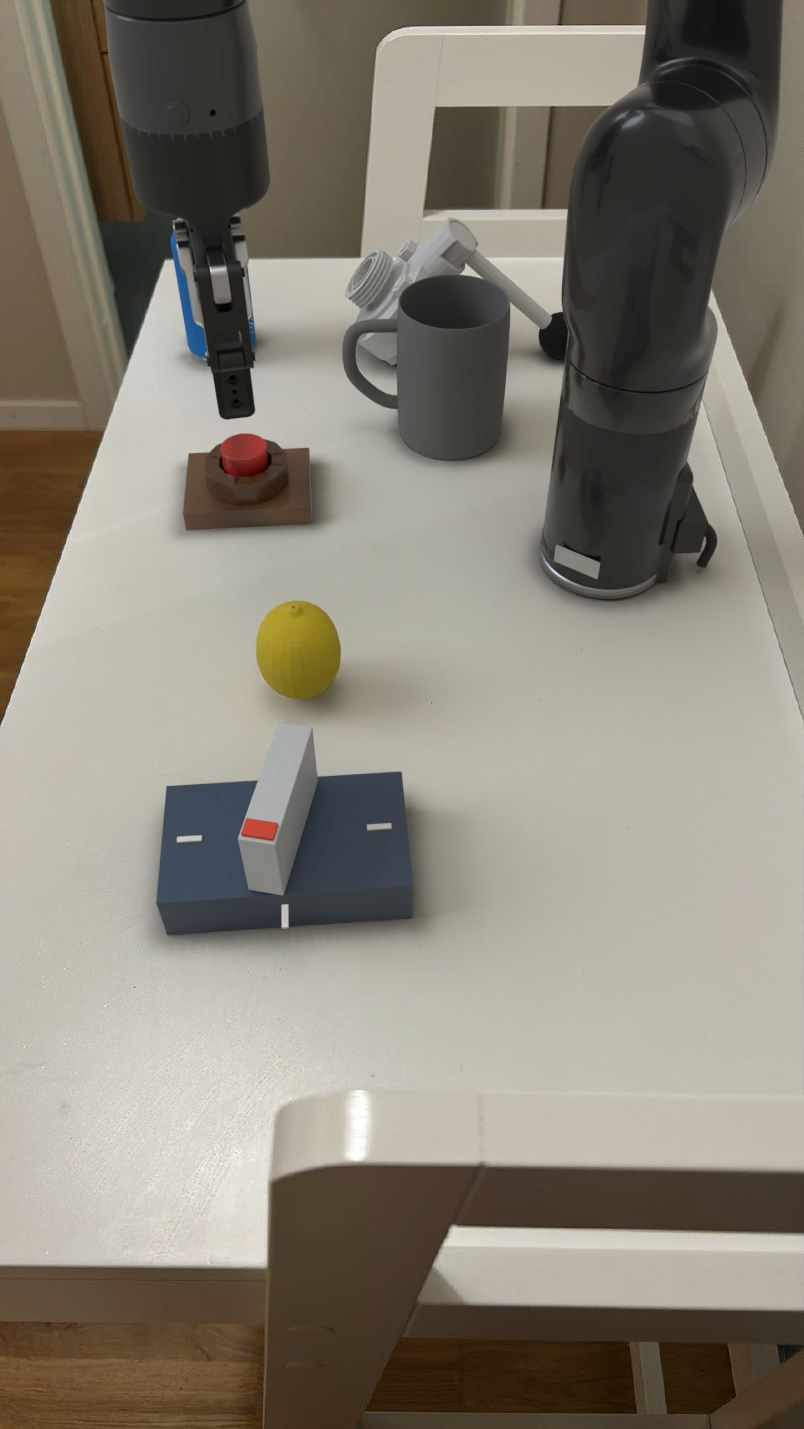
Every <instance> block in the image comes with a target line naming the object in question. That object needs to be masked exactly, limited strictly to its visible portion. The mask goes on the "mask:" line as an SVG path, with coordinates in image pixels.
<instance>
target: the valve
mask: <svg viewBox="0 0 804 1429" xmlns="http://www.w3.org/2000/svg"><path fill="white" fill-rule="evenodd" d="M478 246H479V241H478V240H477V237H476V236H475V235H474V234H473V232H472V231H471V229H470V228H469V227H468V226H467V225H466V224H465V223H464V222H462V220H460V219H457V218H455V217H447V218H446V219H444V220H443V222H442V223H440V225H439V226H438V227H437V228H436V229H435V230H434V231H433V232H432V234H431V235H429V237H428V238H427V239H426V240H425V241H424V242H423V243H420V242H419V243H416V242H414V241H413V240H412V239H411V238H408V239H406V240H405V241H404V242H403V243H402V244H401V245H400V247H399V250H398V251H397V257H396V258H395V259H394V258H393V257H391V256H390V254H388V253H387V252H386V251H384V250H383V248H376V249H373V250H372V251H371V252H369V253H368V254H367V256H365V258H363V260H362V261H361V262H360V263H359V265H358V267H356V269H355V270H354V272H353V273H352V275H351V277H350V279H349V281H348V283H347V285H346V287H345V292H344V297H345V298H346V299H348V300H349V301H350V302H351V303H353V304H355V306H357V307H358V308H359V312H358V314H357V316H356V319H355V322H354V323H356V322H359V321H363V320H371V319H397V310H398V301H399V297H400V295H401V293H402V292H403V290H404V289H405V288H407V287H408V286H409V285H411V284H412V283H414V282H416V281H419V280H421V279H424V278H428V277H432V276H438V275H452V274H453V275H462V273H463V272H464V271H465V269H466V265H467V266H468V267H469V268H470V269H471V270H473V272H475V273H476V275H478V276H480V278H482V279H485V280H488V281H490V282H492V283H494V284H496V285H498V286H499V287H500V288H502V289H503V290H504V291H505V292H506V294H507V295H508V297H509V300H510V304H512V305H513V306H514V307H515V308H516V309H517V310H518V311H520V313H522V314H523V315H524V316H525V317H526V318H527V319H529V321H531V322H532V323H533V324H534V325H536V326H537V327H538V328H539V330H538V334H537V336H538V344H539V346H540V348H541V349H542V351H543V353H544V354H545V355H547V356H549V357H551V358H552V359H557V360H562V359H565V356H566V348H567V340H568V328H567V325H566V321H565V319H564V315H563V311H558V312H554V313H552V314H550V313H549V312H547V311H546V309H544V308H543V307H542V306H541V305H539V303H537V302H536V301H535V300H534V299H533V297H531V296H529V295H528V293H526V292H525V291H524V290H523V289H522V288H520V287H519V286H518V285H517V283H515V282H513V281H512V280H511V279H510V278H509V277H508V276H507V275H506V274H505V273H503V271H501V270H500V269H499V268H498V267H496V265H495V264H494V263H492V262H491V261H490V260H489V259H487V258H486V257H485V256H484V255H483V254H482V253H481V252H480V251H479V250H477V247H478ZM357 344H358V345H360V346H361V347H362V348H364V350H366V351H368V352H369V353H370V354H372V355H373V356H374V357H376V358H377V359H378V360H380V361H385V362H386V363H388V364H389V365H391V366H395V365H397V332H393V333H365V334H362V335H361V336H360V337H359V339H358V341H357Z"/></svg>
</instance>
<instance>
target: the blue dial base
mask: <svg viewBox="0 0 804 1429" xmlns="http://www.w3.org/2000/svg"><path fill="white" fill-rule="evenodd" d="M257 782H258V779H257V780H256V779H255V780H241V781H226V782H225V781H224V782H210V783H209V782H208V783H207V782H206V783H193V784H177V785H175V784H174V785H166V787H165V797H164V808H163V809H164V810H163V820H162V821H163V822H162V830H161V831H162V833H161V844H160V854H159V867H158V875H157V876H158V877H157V889H156V900H155V904H156V907H157V909H158V913H159V916H160V918H161V921H162V924H163V927H164V929H165V933H166V934H167V936H169V935H171V936H172V935H186V934H200V933H213V932H214V933H215V932H229V931H242V930H244V931H245V930H257V929H271V928H281V929H282V930H284V929H285V930H286V929H289V928H290V927H300V926H301V927H302V926H316V925H329V924H330V925H331V924H343V923H345V924H346V923H356V922H357V923H358V922H373V921H386V920H387V921H388V920H389V921H390V920H402V919H403V920H404V919H412V918H413V908H414V906H413V904H414V903H413V901H414V898H413V896H414V885H413V872H412V863H411V854H410V852H411V851H410V842H409V832H408V822H407V812H406V803H405V802H406V800H405V791H404V781H403V772H402V771H385V772H384V771H383V772H369V773H353V774H352V773H351V774H341V775H340V774H339V775H321V776H318V783H317V786H316V790H315V793H314V796H313V800H312V803H311V806H310V810H309V813H308V816H307V820H306V823H305V826H304V830H303V833H302V836H301V839H300V843H299V846H298V849H297V853H296V856H295V859H294V863H293V866H292V869H291V873H290V876H289V879H288V883H287V886H286V889H285V893H284V895H277V894H271V893H265V892H258V891H252V890H249V888H248V884H247V879H246V874H245V870H244V865H243V861H242V856H241V851H240V847H239V842H238V837H239V834H240V831H241V828H242V825H243V822H244V819H245V817H246V814H247V811H248V808H249V805H250V802H251V799H252V796H253V793H254V791H255V788H256V785H257Z"/></svg>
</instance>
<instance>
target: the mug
mask: <svg viewBox="0 0 804 1429" xmlns="http://www.w3.org/2000/svg"><path fill="white" fill-rule="evenodd" d="M355 322H356V321H355ZM355 322H354V323H352V324H351V325H349V327H348V328H347V330H346V331H345V333H344V336H343V340H342V345H341V352H342V353H341V358H342V365H343V370H344V373H345V375H346V377H347V380H349V383H351V385H352V386H354V388H355V389H356V390H357V391H358V392H360V393H361V394H362V395H364V396H365V398H368V399H369V400H370V401H372V402H373V403H375V404H377V405H379V406H381V407H382V408H387V409H391V410H397V422H398V431H399V435H400V437H401V439H402V442H403V443H404V444H405V445H406V446H407V447H408V448H409V449H410V450H412V451H414V452H415V453H417V454H419V455H422V456H424V457H427V458H429V459H435V460H442V461H460V460H461V461H462V460H466V459H472V458H475V457H477V456H480V455H482V454H484V453H486V452H487V451H489V450H490V449H492V448H493V446H494V445H495V444H496V443H497V441H498V439H499V437H500V435H501V429H502V424H503V417H504V416H503V415H504V406H505V398H506V397H505V395H506V386H507V375H508V374H507V372H508V362H509V346H510V330H511V302H510V300H509V297H508V295H507V294H506V292H505V291H504V290H503V289H502V288H500V287H499V286H498V285H496V284H494V283H492V282H490V281H488V280H485V279H483V278H482V277H478V276H472V275H467V274H460V275H453V274H452V275H438V276H432V277H428V278H424V279H421V280H419V281H416V282H414V283H412V284H411V285H409V286H408V287H407V288H405V289H404V290H403V292H402V293H401V295H400V297H399V301H398V310H397V319H371V320H363V321H359V322H356V323H355ZM393 332H397V363H396V393H397V394H390V393H387V392H385V391H383V390H381V389H379V388H378V387H376V386H375V385H374V384H373V383H372V382H370V381H369V380H368V379H367V378H366V377H365V376H364V375H363V373H362V372H361V371H360V370H359V367H358V363H357V357H356V355H357V345H358V343H357V341H358V339H359V337H360V336H361V335H362V334H365V333H393Z"/></svg>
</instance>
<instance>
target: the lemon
mask: <svg viewBox="0 0 804 1429" xmlns="http://www.w3.org/2000/svg"><path fill="white" fill-rule="evenodd" d="M341 645H342V644H341V641H340V637H339V633H338V630H337V628H336V625H335V624H334V622H333V620H332V619H331V617H330V616H329V614H328V613H327V612H326V611H325V610H324V609H323V608H321V607H320V606H318V605H316V604H315V603H312V602H309V601H306V600H288V601H285V602H282V603H280V604H277V605H275V606H274V607H273V608H272V609H271V610H269V611H268V612H267V613H266V615H265V616H264V617H263V618H262V620H261V622H260V625H259V628H258V631H257V634H256V641H255V657H256V662H257V666H258V668H259V671H260V673H261V676H262V678H263V680H264V681H265V682H266V683H267V685H268V687H270V688H271V689H272V690H273V691H275V692H276V693H277V694H279V695H281V696H282V697H286V698H288V699H293V700H306V699H311V698H315V697H316V696H319V695H320V694H322V693H324V692H325V691H326V690H327V689H328V688H329V687H330V686H331V685H332V683H333V682H334V680H335V679H336V677H337V675H338V672H339V670H340V666H341V657H342V646H341Z"/></svg>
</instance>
